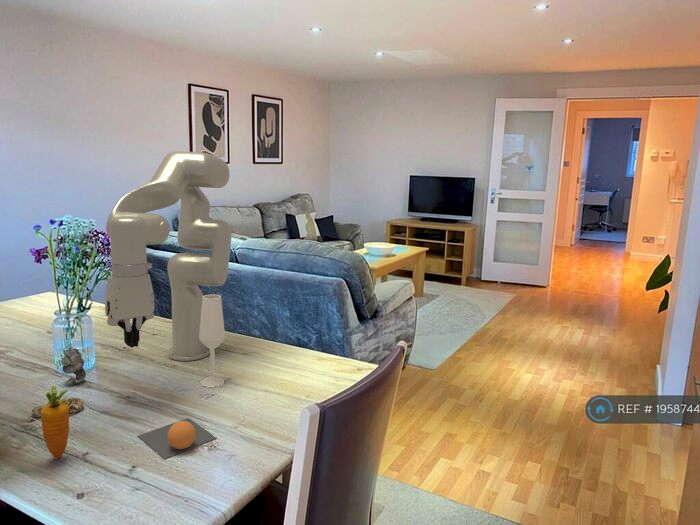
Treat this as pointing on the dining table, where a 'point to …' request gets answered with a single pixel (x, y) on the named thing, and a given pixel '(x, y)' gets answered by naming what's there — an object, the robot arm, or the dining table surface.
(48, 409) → the carrot
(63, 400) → the mineral rock
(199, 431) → the slate mark
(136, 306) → the robot arm
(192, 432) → the ball
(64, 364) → the seashell
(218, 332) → the champagne flute
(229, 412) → the dining table surface
